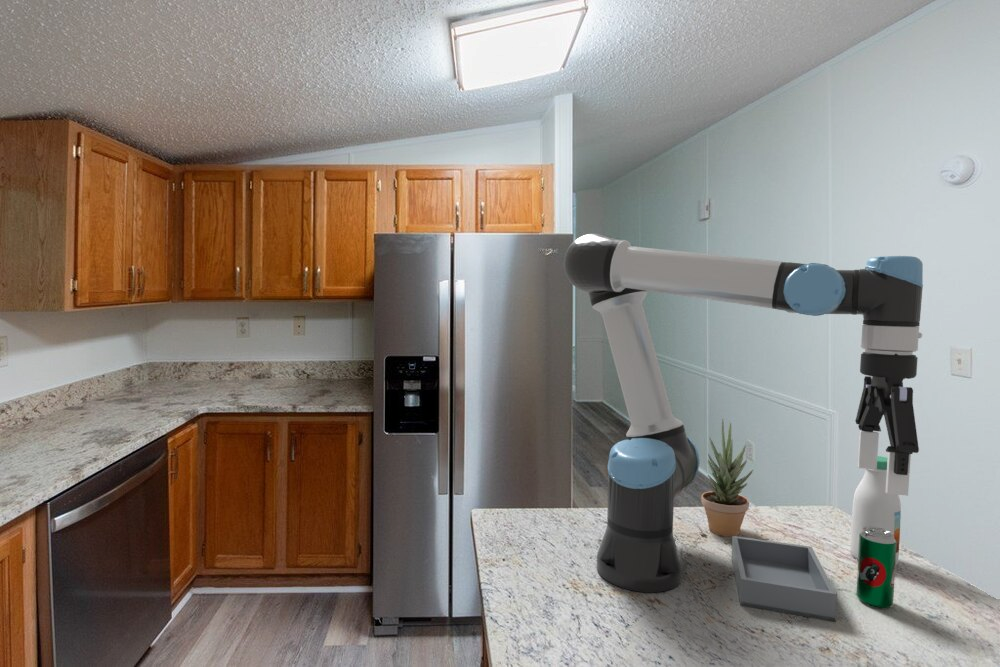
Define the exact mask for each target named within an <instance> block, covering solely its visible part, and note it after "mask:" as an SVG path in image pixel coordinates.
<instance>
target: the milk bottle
mask: <svg viewBox="0 0 1000 667" xmlns="http://www.w3.org/2000/svg"><path fill="white" fill-rule="evenodd" d="M887 459H888V457H886V456H880V455H877V470H874V469H864V470H865V471H864V474H863V476H862V478H861V480H860V482H859V484H858V485H857V487H856V489H855V491H854V493H853V494H854V495H853V500H852V512H851V514H852V515H851V527H850V528H851V529H850V531H851V532H850V549H849V550H850V554H851V556H853V558H855V560H857V561H858V552H859V534H860V533H861V532H862V528H863V527H868V526H870V527H878V528H882V529H885V530H888V531H890V532H892V533H893V534H894V539H895V540H896V542H897V543H896V562H895V567H896V566H897V565H898V564H899V557H900V556H899V555H900V554H899V553H900V538H901V535H900V534H901V519H902V518H901V517H902V514H901V509H902V508H901V506H902V505H901V499H900V495H897V494H888V493H886V492H885V491H886V475H887Z"/></svg>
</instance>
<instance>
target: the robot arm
mask: <svg viewBox="0 0 1000 667" xmlns="http://www.w3.org/2000/svg"><path fill="white" fill-rule="evenodd" d="M565 251H566V252H565V253H564V254H565V255H564V258H563V269H564V273H565V275H566V276H565V277H566V278H567V280H568V281H569V282H570V283H571V285H573V286H574V287H575V288H577V289H579V290H580V291H582V292H586V293H588V295H589V296H588V297H589V301H590V304H591V308H592V309H593V310H595V311H597V312H598V313H600V315H601V317H602V320H603V324H604V328H605V331H606V332H605V333H606V334H607V335H606V336H607V339H608V343H609V347H610V350H611V354H612V359H613V361H614V362H613V363H614V366H615V369H616V373H617V377H618V381H619V384H620V387H621V392H622V395H623V399H624V403H625V407H626V410H627V416H628V418H629V422H630V426H629V429H628V430H627V432H626V434H625V435H626V439H623V440H620V441H619V442H616V443H615V444H614V445H613V446H612V447H611V449H610V451H609V456H608V462H607V512H606V513H607V517H606V519H607V521H606V524H607V525H606V529H605V532H604V535H603V537H602V539H601V543H600V546H599V548H598V551H597V554H596V571H597V573H598V574H599V575H600V576H601V577H602V578H603V579H604V580H605V581H607V582H609V583H610V584H612V585H614V586H617V587H619V588H621V589H625V590H629V591H634V592H641V593H660V592H666V591H669V590H672V589H674V588H675V587H678V585H679V584H680V583H681V582H682V574H683V570H682V569H683V567H682V566H683V564H682V561H681V558H680V554H679V551H678V546H677V544H676V540H675V537H674V532H673V531H674V507H675V506H674V504H675V499H676V498H677V497H678V496H680V494H681V493H682V492H684V491H685V490H687V489H688V488H689V487H690V486H691V484H693V482H694V481H695V479H696V477H697V475H698V472H699V468H700V455H699V451H698V448H697V447H696V444H694V442H693V441H692V440H691V439H690V438H689V437H688V436H687V432H686V429H685V425H684V422H683V421H681V420H680V419H679V418H677V417H675V416H674V415H673V411H672V408H671V404H670V401H669V400H670V399H669V397H668V393H667V389H666V386H665V383H664V378H663V374H662V372H661V368H660V367H661V366H660V365H659V361H658V356H657V352H656V349H655V346H654V341H653V338H652V334H651V332H650V328H649V324H648V320H647V317H646V313H645V309H644V306H643V301H644V300H645V298H646V296H647V294H648V292H653V293H661V294H667V295H675V296H681V297H688V298H695V299H704V300H710V301H718V302H724V303H732V304H737V305H739V304H740V305H745V306H751V307H759V308H765V309H766V308H767V309H773V310H774V309H775V310H777V311H778V310H779V311H785V312H786V313H788V314H789V313H791V314H799V315H805V316H815V317H816V316H817V317H819V316H823V315H853V316H854V315H855V316H856V315H857V316H858V315H862V317H863V320H862V325H861V326H862V327H861V339H860V340H861V342H860V343H861V344H860V348H861V349H863V350H864V351H862V353H861V354H860V365H859V372H860V374H862V375H864V378H863V388H862V393H861V397H860V400H859V405H858V407H857V408H858V409H857V414H856V417H855V420H854V421H855V424H856V425H858V426H857V427H858V429H859V439H858V451H857V452H858V454H857V468H859V469H863V470H865V469H874V470H877V456H879V455H878V454H879V452H878V451H879V438H880V437H879V434H880V432H882V430H881V426H880V423H881V421H882V418H883V417H884V422H885V427H886V430H887V431H886V432H887V436H888V440H889V445H890V446H889V445H887V447H886V449H885V452H887V458H888V459H887V475H886V491H885V492H886V493H888V494H897V495H899V496H905V497H906V496H909V487H910V474H911V472H910V471H911V459H912V458H911V457H912V456H911V455H913V454H914V453H915V454H918V453H919V452H920V448H919V442H918V434H917V433H918V432H917V425H916V419H915V418H916V417H915V410H914V403H913V402H914V401H913V400H914V397H913V396H914V389H913V388H912V387H911V386H909V387H908V386H904V382H903V381H904V380H905V379H907V380H908V379H914V378H915V377H917V373H918V371H917V370H918V357H917V355H916V354H913V353H915V352H917V351H918V350H919V339H921V338H922V337H923V334H922V332H920V322H921V310H922V308H921V307H922V300H923V287H924V284H923V282H924V281H923V266H924V265H923V261H922V260H921V259H920V258H918V257H916V256H911V255H910V256H909V255H888V256H887V255H885V256H873V257H870V258H868V259H867V260H866V264H865V266H864V268H860V269H853V270H852V269H836V268H834V267H831V266H830V265H828V264H826V263H825V264H822V263H818V262H817V263H815V262H811V263H798V262H789V261H788V262H786V261H785V262H784V261H780V260H772V259H771V260H769V259H759V258H751V257H750V258H749V257H742V256H741V257H740V256H733V255H730V256H729V255H721V254H713V253H711V254H710V253H700V252H692V251H683V250H682V251H680V250H671V249H661V248H660V249H659V248H651V247H641V246H635V245H634V244H632V243H631V242H630V241H628V240H626V239H621V238H614V237H611V236H607V235H603V234H601V233H587V234H584V235H581V236H579V237H578V238H576V239H575V240H574V241H573V242H572V243H571V244H569V247H567V250H565Z"/></svg>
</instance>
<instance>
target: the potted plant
mask: <svg viewBox="0 0 1000 667" xmlns="http://www.w3.org/2000/svg"><path fill="white" fill-rule="evenodd" d="M727 431H728V432H727V437H726V438H725V426H724V418H722V419H721V450H722V452H718V451H717V448H716V447H715V445H714V443H713V440H712V438H711V437H709V444H710V446H711V450H712V452H713V454H714V457H715V459H716V462H717V464H718V465H717V464H716V462H714V460H713V459H712V457H711V455H710V454H709V453H707V455H708V459H707V464H708V465H709V468H710V470H711V475H712V477H713V478H712V477H711V476H710V475H709V474H708V475H707V476H708V478H709V480H710V481H711V483H712V484H713V485H712V484H711V483H709V482H708V485H709V487H710V488H711V490H712V491H711V490H710V491H706V492H703V493H702V494H701V504H702V505H703V507H704V512H705V515H706V518H707V523H708V524H707V525H708V529H709V531H710V532H711V533H714V534H717V535H718V536H721V537H732V536H736V535H737V536H739V534H740V533H741V527H742V524H743V521H744V519H745V516H746V512H747V511H748V510H749V509H750V501H749V499H748V498H747V497H745V496H743V495H741V494H740V493H741V492H743V491H742V490H743V489H744V488H745V487H746V486H747V485H748V483H745V482H746V480H748V479H749V477H750V476H751V475H752V474H753V472H754V469H752V470H751V471H749V473H748V474H747V475H745V476H743V477H742V478H739V476H740V474H741V473H742V471H743V469H744V467H745V466H746V464H747V461H748V460H747V459H746V460H744V455H745V452H746V451H745V450H746V447H747V444H744V446H743V448H742V449H741V451H740V452H739V453H738V455H737V457H736V458H735V459H734V460H733V453H734V452H733V450H734V449H733V448H734V446H733V444H734V442H733V439H732V423H731V422H730V423H729V427H728V430H727ZM721 453H722V454H721ZM743 460H744V462H743ZM738 478H739V479H738Z"/></svg>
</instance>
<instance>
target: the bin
mask: <svg viewBox="0 0 1000 667" xmlns="http://www.w3.org/2000/svg"><path fill="white" fill-rule="evenodd" d="M730 558H731V562H732V568H733V569H732V570H733V573H734V579H735V585H736V589H737V595H738V600H739V604H740V606H741V607H742V606H744V607H749V608H754V609H760V610H765V611H770V612H771V611H773V612H776V613H784V614H789V615H795V616H800V617H806V618H812V619H818V620H823V621H828V622H836V618H837V617H836V616H837V596H838V595H837V592H836V590H835V588H834V586H833V585H832V583H831V581H830V579H829V576H828V575H827V573H826V571H825V569H824V567H823V566H822V564H821V561H820V559H818V556H817V554H816V552H815V550H814V549H813V547H812V546H811V545H810V546H809V545H803V544H802V545H801V544H795V543H789V542H787V543H786V542H782V541H781V542H780V541H772V540H766V539H765V540H764V539H758V538H751V537H744V536H743V537H742V536H738V535H737V536H731V556H730Z"/></svg>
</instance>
